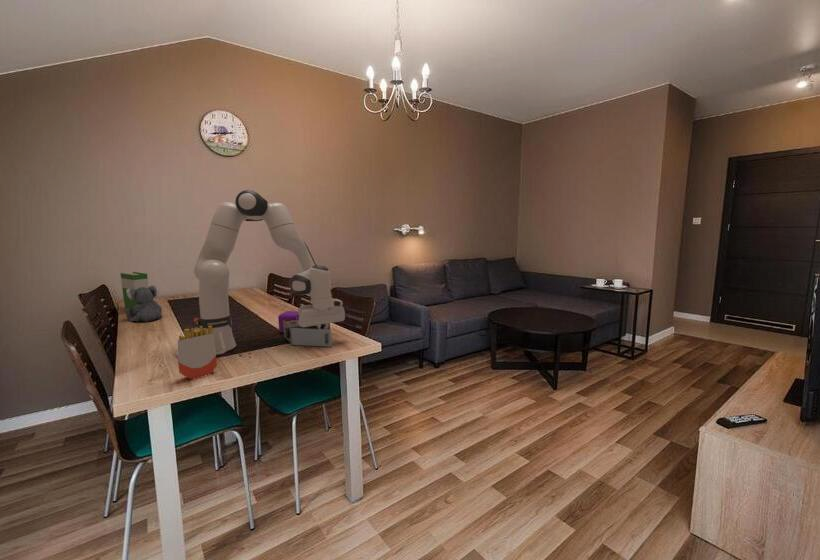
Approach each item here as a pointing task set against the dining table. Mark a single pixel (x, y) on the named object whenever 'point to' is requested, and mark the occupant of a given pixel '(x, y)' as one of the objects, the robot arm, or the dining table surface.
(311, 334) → the side door
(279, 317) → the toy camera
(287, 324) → the camera housing
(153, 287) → the koala plush
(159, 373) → the dining table surface
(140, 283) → the green and white box
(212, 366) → the french fries container
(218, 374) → the dining table surface
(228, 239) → the robot arm
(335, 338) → the dining table surface
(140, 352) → the dining table surface
